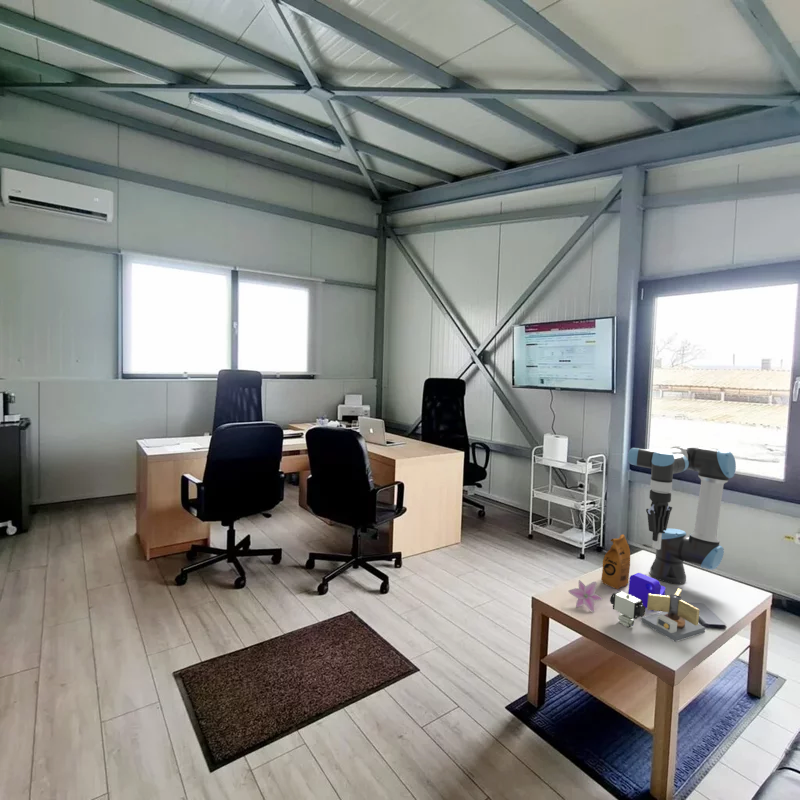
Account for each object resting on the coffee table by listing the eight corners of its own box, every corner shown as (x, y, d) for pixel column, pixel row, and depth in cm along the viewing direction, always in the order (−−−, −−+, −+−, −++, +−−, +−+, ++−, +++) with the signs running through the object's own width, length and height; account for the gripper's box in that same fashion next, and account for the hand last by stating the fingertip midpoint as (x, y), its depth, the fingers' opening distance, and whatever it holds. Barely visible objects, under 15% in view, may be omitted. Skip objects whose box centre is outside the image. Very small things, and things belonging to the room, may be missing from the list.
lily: (563, 602, 201) (565, 588, 196) (581, 586, 207) (583, 572, 201) (588, 622, 193) (591, 608, 188) (605, 605, 198) (608, 591, 193)
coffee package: (597, 582, 219) (600, 536, 218) (611, 575, 227) (615, 531, 225) (617, 590, 211) (621, 543, 210) (632, 584, 219) (635, 537, 217)
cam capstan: (639, 607, 193) (641, 583, 192) (678, 612, 190) (680, 588, 190) (654, 630, 176) (656, 604, 175) (697, 635, 174) (700, 609, 173)
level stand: (670, 614, 193) (671, 601, 192) (704, 632, 180) (706, 618, 180) (640, 622, 186) (641, 608, 185) (673, 642, 173) (674, 627, 172)
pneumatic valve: (637, 633, 178) (640, 602, 177) (608, 618, 187) (610, 589, 186) (645, 628, 181) (647, 598, 180) (615, 614, 190) (618, 586, 189)
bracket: (652, 611, 195) (655, 583, 194) (627, 599, 204) (629, 573, 203) (674, 600, 205) (677, 574, 204) (649, 590, 214) (652, 564, 213)
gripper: (662, 486, 194) (658, 542, 196) (641, 490, 188) (637, 547, 190) (680, 491, 187) (675, 549, 190) (658, 495, 182) (654, 554, 184)
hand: (656, 548), depth 190 cm, fingers closed
